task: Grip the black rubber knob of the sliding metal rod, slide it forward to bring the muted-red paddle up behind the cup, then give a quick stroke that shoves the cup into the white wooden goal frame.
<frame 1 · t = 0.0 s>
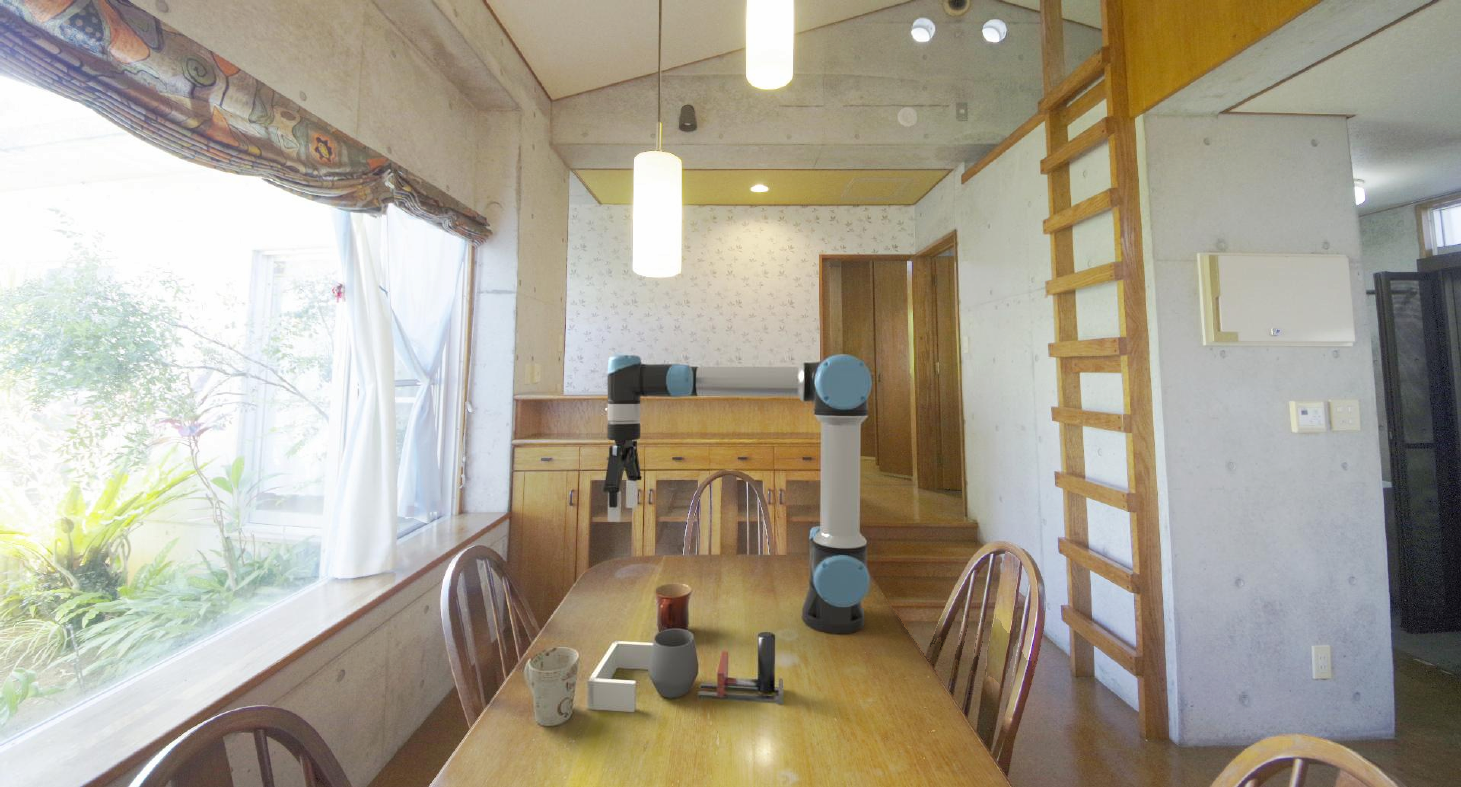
hand: (623, 514, 122), 28 cm above the table, fingers open, 13 cm apart
mug 2: (546, 712, 93), on the table
goal: (623, 686, 101), on the table
rails: (739, 694, 99), on the table
cup: (673, 691, 100), on the table
mug: (670, 637, 121), on the table
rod: (747, 661, 98), point 6 cm above the table, slide at 0.0 cm
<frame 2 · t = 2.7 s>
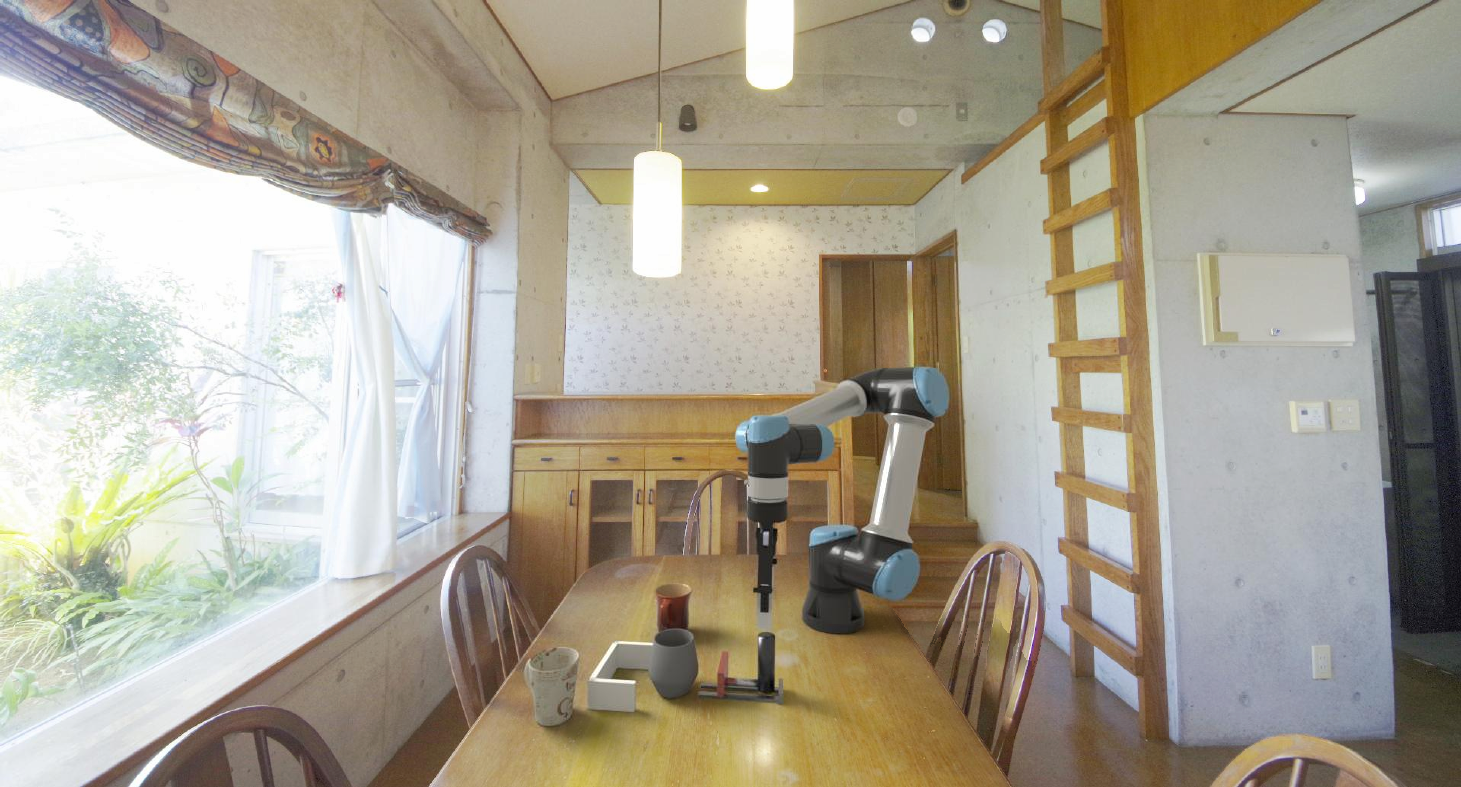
hand: (765, 612, 98), 16 cm above the table, fingers open, 13 cm apart
nothing on the table moved.
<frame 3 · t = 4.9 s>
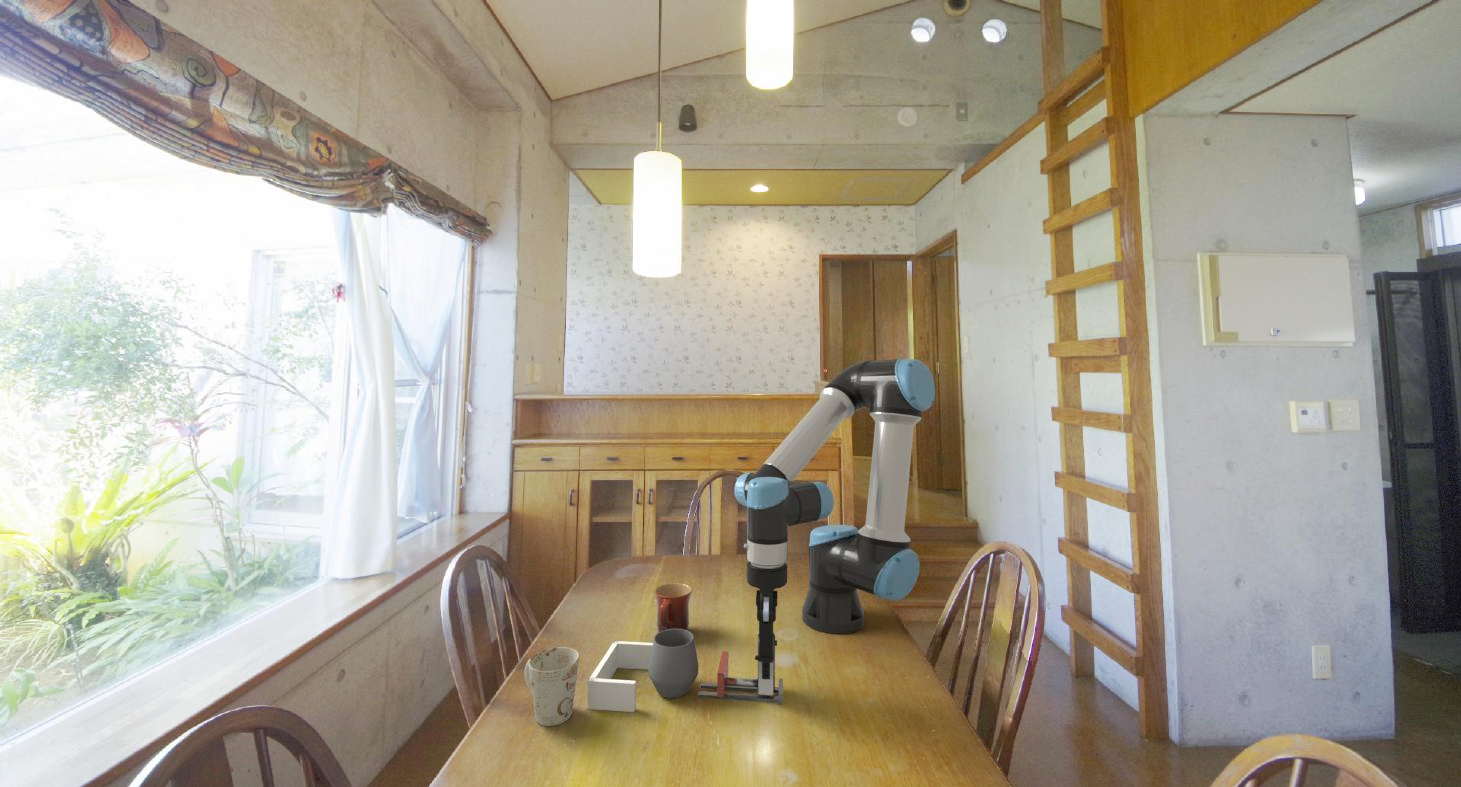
hand: (766, 687, 98), 2 cm above the table, fingers closed on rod, 3 cm apart
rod: (747, 661, 98), point 6 cm above the table, slide at 0.0 cm, touching gripper
everything else where it was.
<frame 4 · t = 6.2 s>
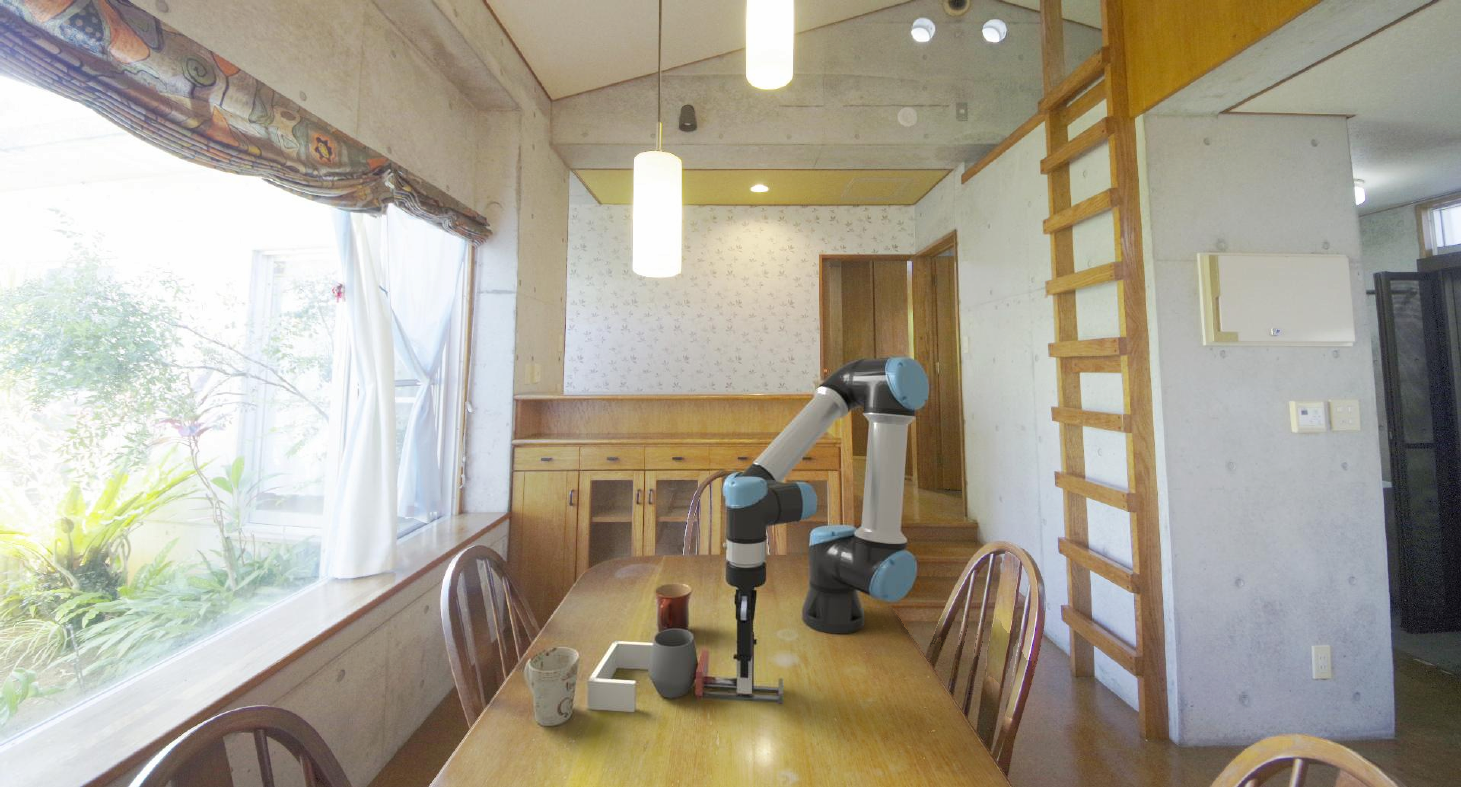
hand: (745, 686, 99), 2 cm above the table, fingers closed on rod, 3 cm apart
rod: (726, 660, 99), point 6 cm above the table, slide at 3.9 cm, touching gripper
everything else where it was.
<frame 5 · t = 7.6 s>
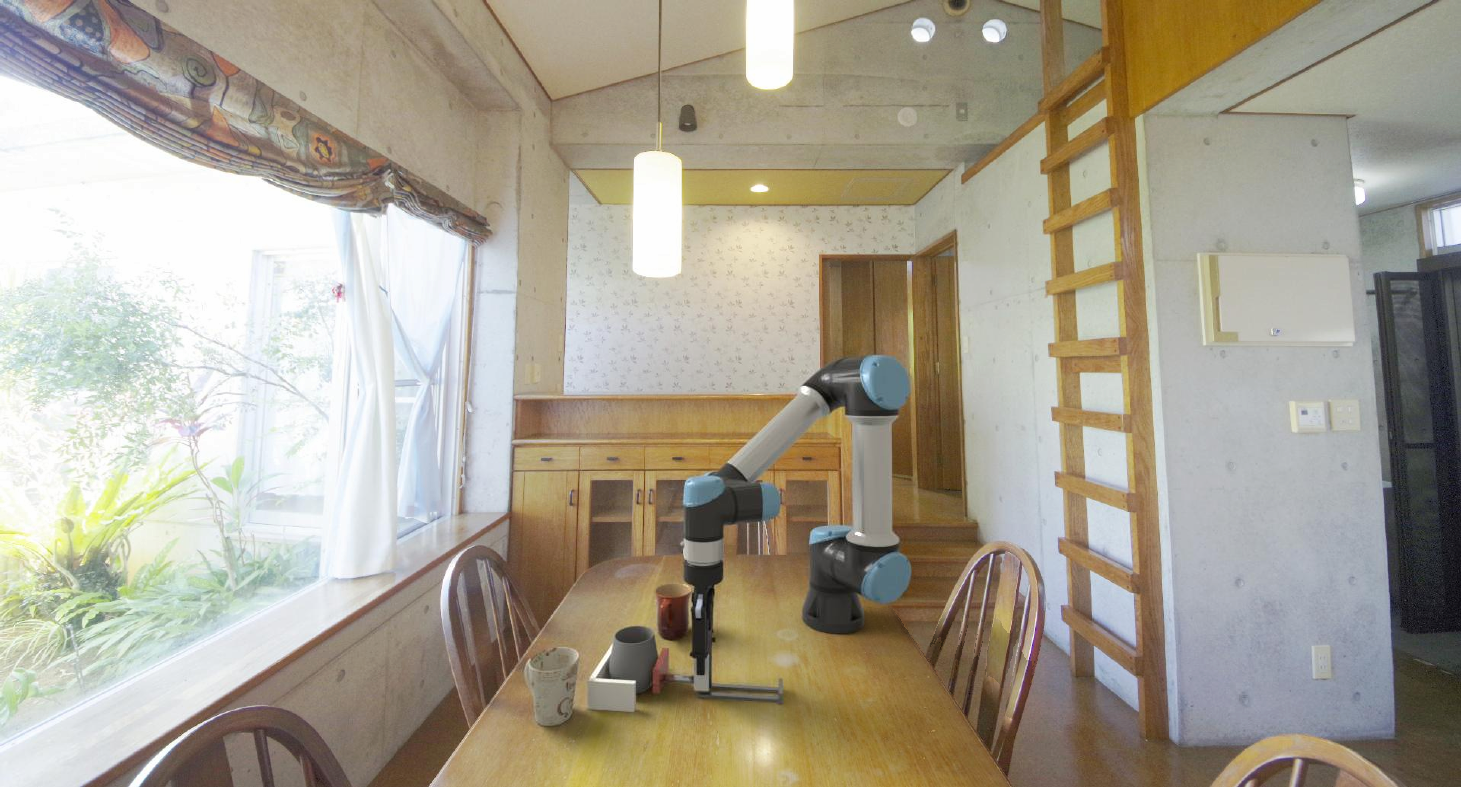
hand: (702, 683, 99), 2 cm above the table, fingers closed on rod, 3 cm apart
cup: (634, 687, 101), on the table, touching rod
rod: (684, 657, 100), point 6 cm above the table, slide at 11.8 cm, touching cup, gripper
everything else where it was.
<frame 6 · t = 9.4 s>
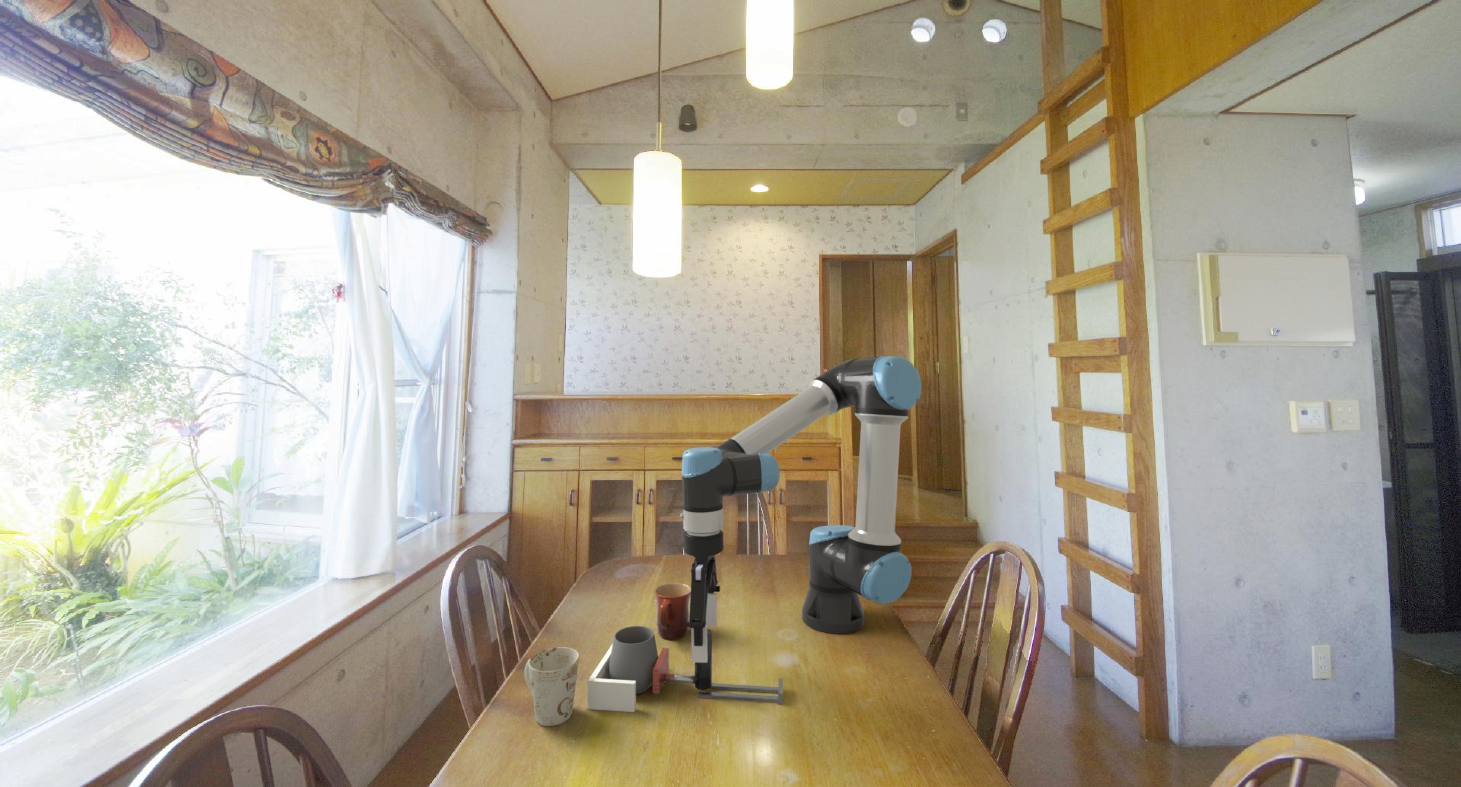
hand: (705, 642, 100), 9 cm above the table, fingers open, 13 cm apart
cup: (634, 687, 101), on the table
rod: (684, 657, 100), point 6 cm above the table, slide at 11.8 cm
everything else where it was.
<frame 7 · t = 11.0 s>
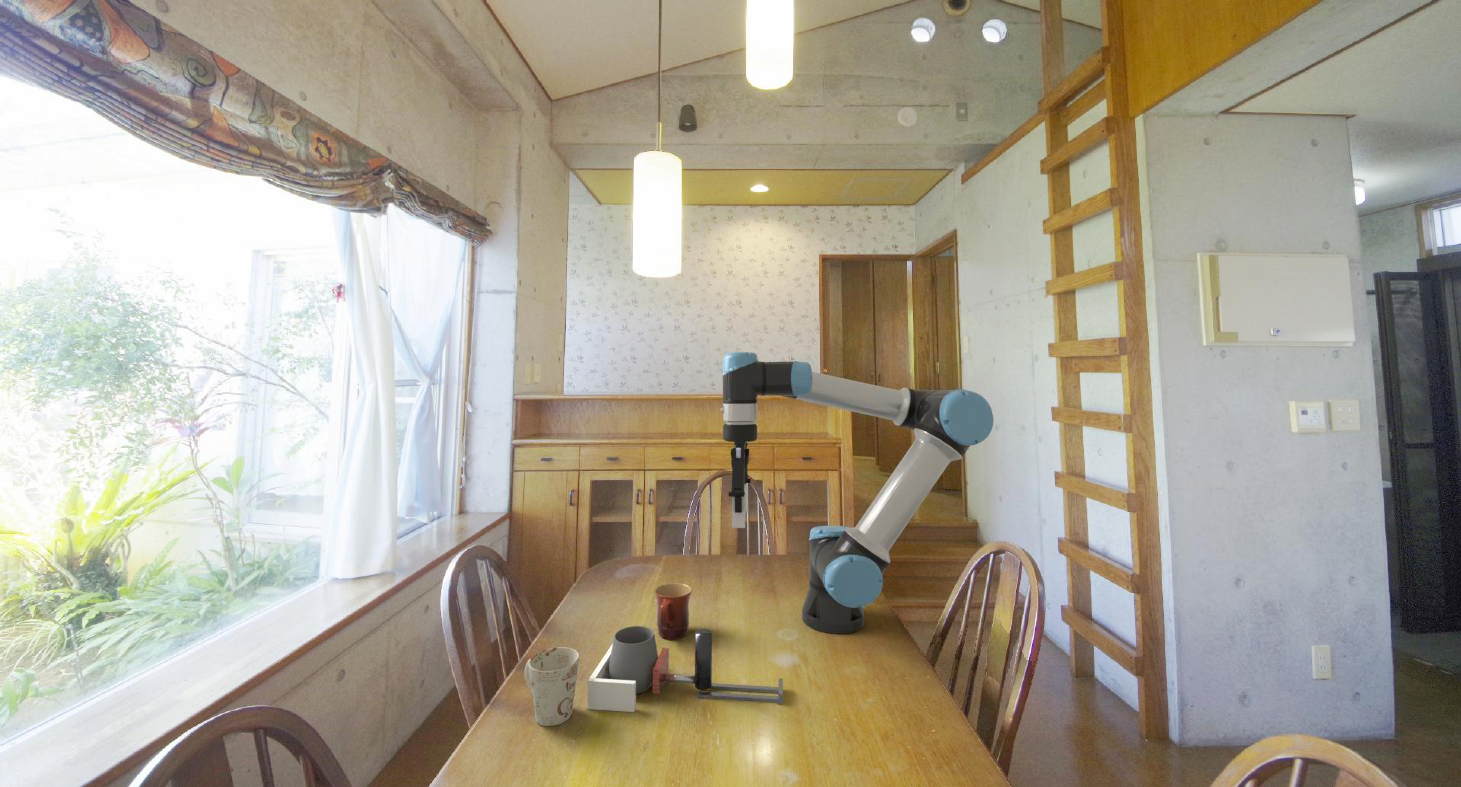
hand: (740, 519, 116), 28 cm above the table, fingers open, 13 cm apart
nothing on the table moved.
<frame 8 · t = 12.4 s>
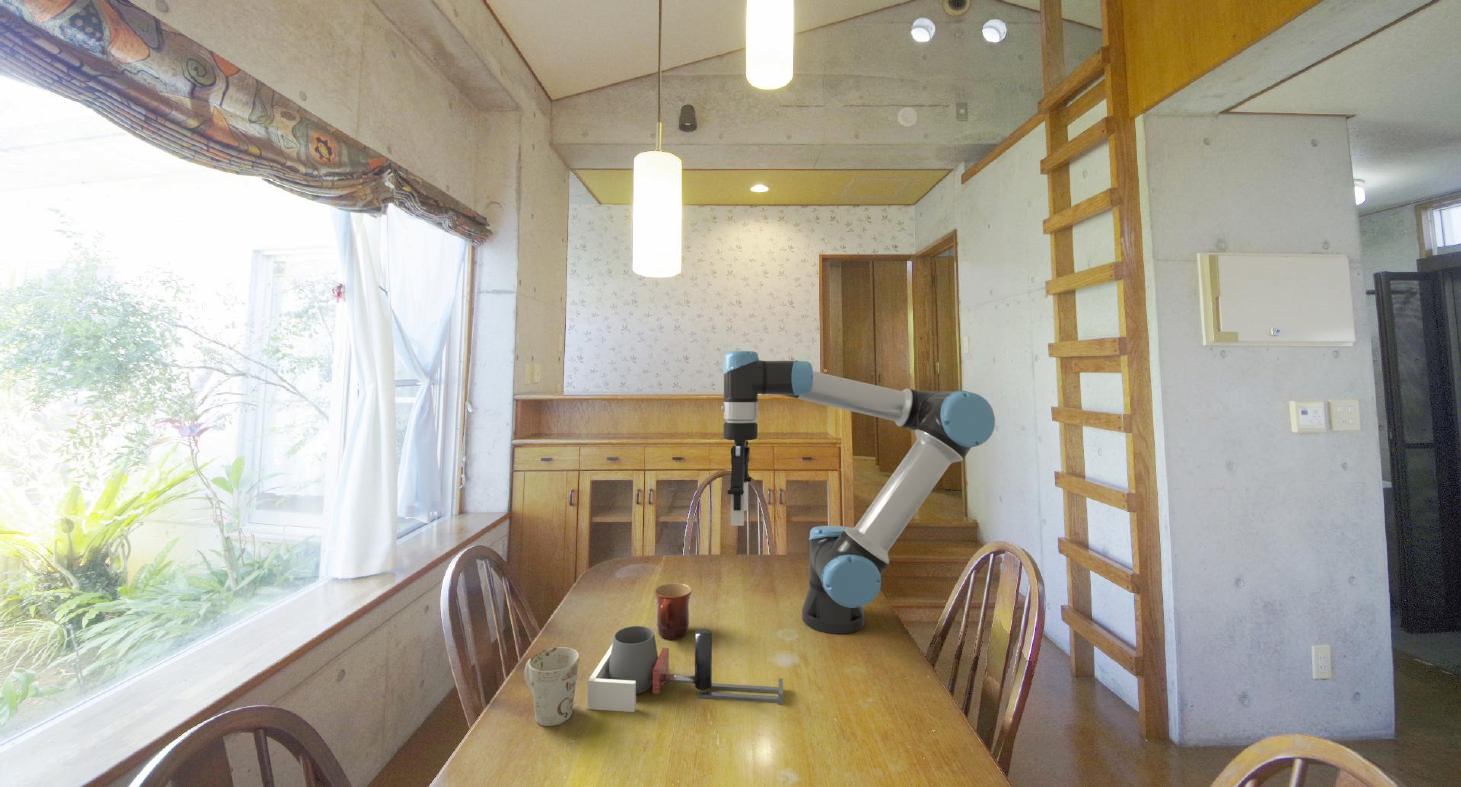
hand: (739, 517, 116), 29 cm above the table, fingers open, 13 cm apart
nothing on the table moved.
at the end: cup inside the target area (2.7 cm from its centre), on the table; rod slide at 11.8 cm; cup tilted 0° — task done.
